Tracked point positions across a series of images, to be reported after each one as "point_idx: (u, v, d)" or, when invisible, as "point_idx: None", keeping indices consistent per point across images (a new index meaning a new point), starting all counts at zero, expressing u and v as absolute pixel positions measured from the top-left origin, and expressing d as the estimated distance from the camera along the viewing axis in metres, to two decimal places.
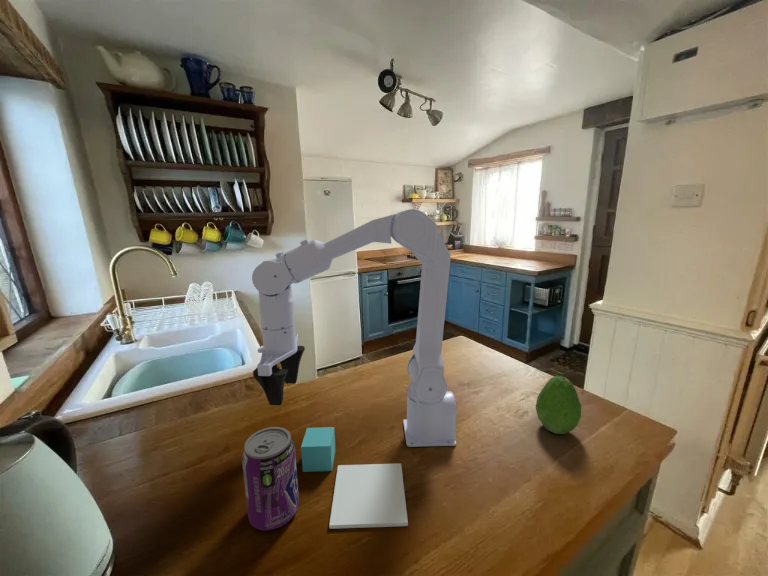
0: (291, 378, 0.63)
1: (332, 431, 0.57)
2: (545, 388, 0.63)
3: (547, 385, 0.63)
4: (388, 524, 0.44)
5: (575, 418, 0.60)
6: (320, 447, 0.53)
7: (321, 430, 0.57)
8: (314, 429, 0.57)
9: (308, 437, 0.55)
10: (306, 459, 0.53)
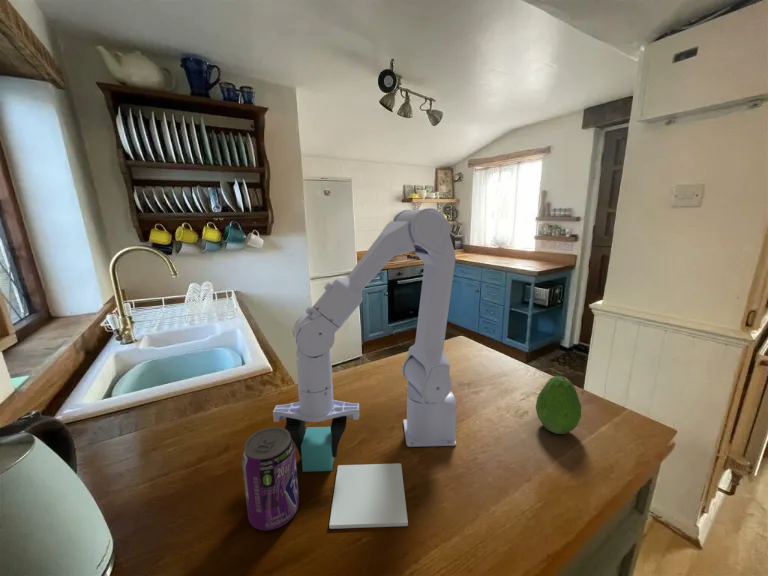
0: None
1: None
2: (545, 388, 0.63)
3: (547, 385, 0.63)
4: (388, 524, 0.44)
5: (575, 418, 0.60)
6: (320, 446, 0.53)
7: (321, 429, 0.57)
8: (314, 428, 0.57)
9: (308, 437, 0.55)
10: (306, 458, 0.53)
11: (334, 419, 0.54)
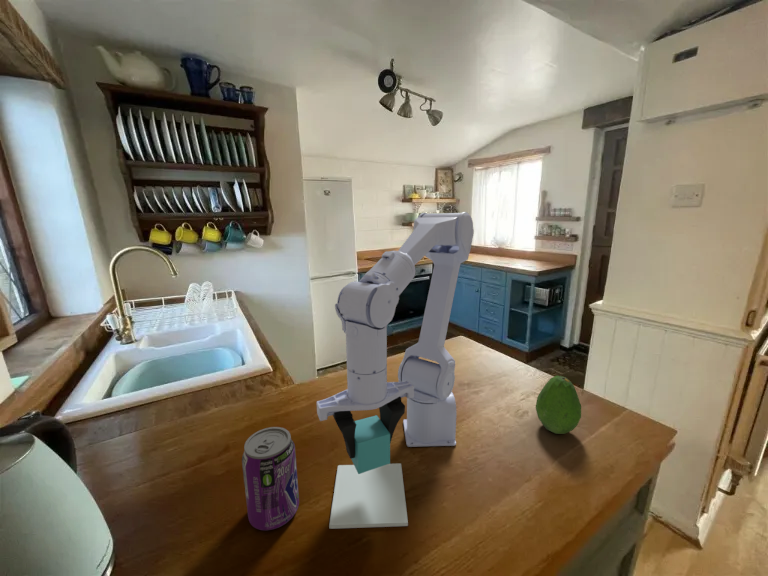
0: None
1: (378, 419, 0.49)
2: (545, 388, 0.63)
3: (547, 385, 0.63)
4: (388, 524, 0.44)
5: (575, 418, 0.60)
6: (379, 438, 0.45)
7: (365, 421, 0.49)
8: (357, 422, 0.48)
9: (357, 432, 0.46)
10: (362, 457, 0.45)
11: (389, 402, 0.47)
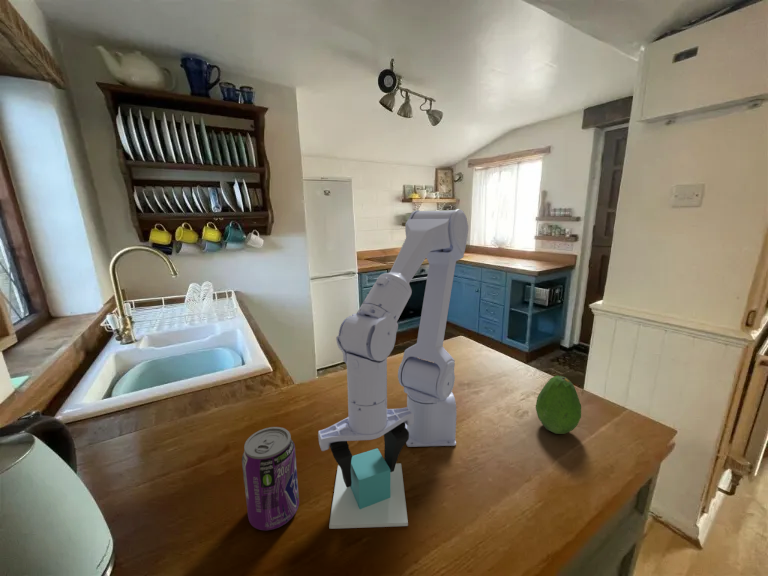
0: (388, 463, 0.49)
1: (379, 453, 0.50)
2: (545, 388, 0.63)
3: (547, 385, 0.63)
4: (388, 524, 0.44)
5: (575, 418, 0.60)
6: (379, 474, 0.46)
7: (366, 455, 0.50)
8: (358, 456, 0.50)
9: (358, 468, 0.47)
10: (363, 493, 0.46)
11: (393, 429, 0.48)
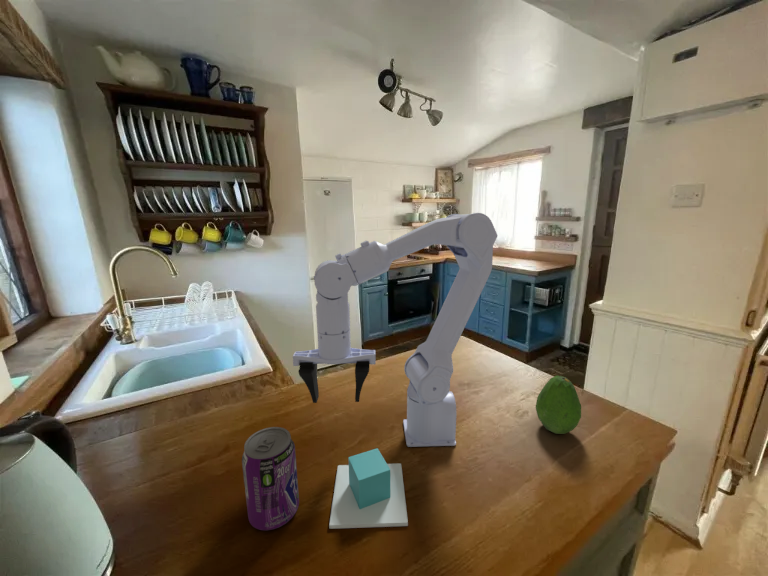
0: None
1: (379, 453, 0.50)
2: (545, 388, 0.63)
3: (547, 385, 0.63)
4: (388, 524, 0.44)
5: (575, 418, 0.60)
6: (379, 474, 0.46)
7: (366, 455, 0.50)
8: (358, 456, 0.50)
9: (358, 468, 0.47)
10: (363, 493, 0.46)
11: (357, 364, 0.56)
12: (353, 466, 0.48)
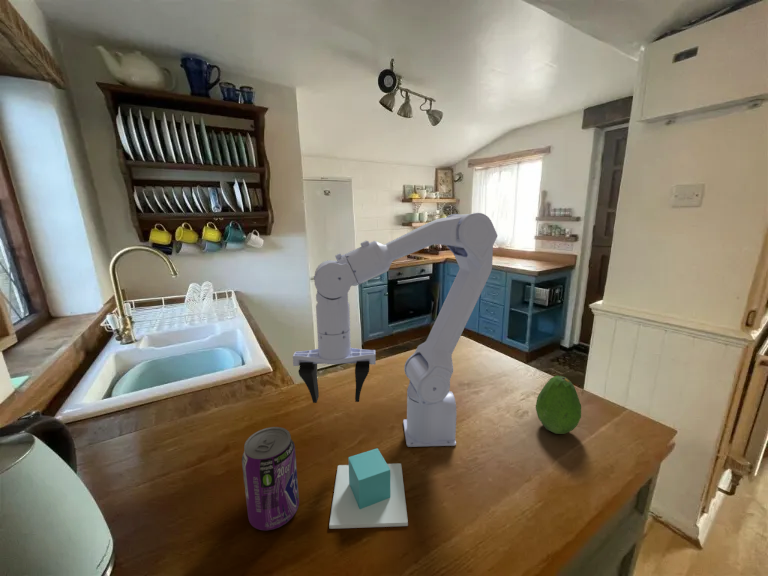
0: None
1: (379, 453, 0.50)
2: (545, 388, 0.63)
3: (547, 385, 0.63)
4: (388, 524, 0.44)
5: (575, 418, 0.60)
6: (379, 474, 0.46)
7: (366, 455, 0.50)
8: (358, 456, 0.50)
9: (358, 468, 0.47)
10: (363, 493, 0.46)
11: (357, 364, 0.56)
12: (353, 466, 0.48)
